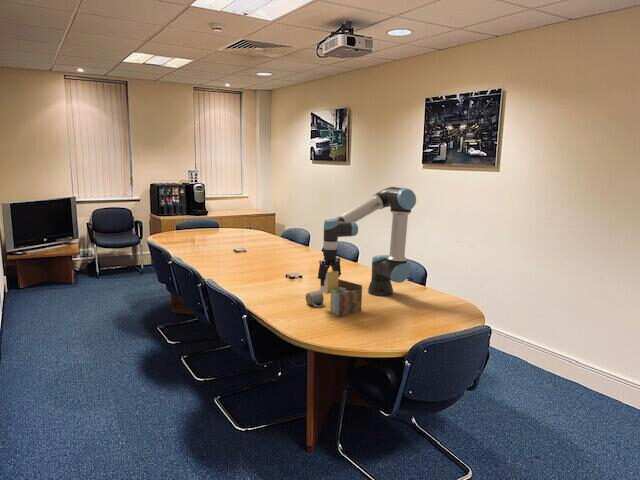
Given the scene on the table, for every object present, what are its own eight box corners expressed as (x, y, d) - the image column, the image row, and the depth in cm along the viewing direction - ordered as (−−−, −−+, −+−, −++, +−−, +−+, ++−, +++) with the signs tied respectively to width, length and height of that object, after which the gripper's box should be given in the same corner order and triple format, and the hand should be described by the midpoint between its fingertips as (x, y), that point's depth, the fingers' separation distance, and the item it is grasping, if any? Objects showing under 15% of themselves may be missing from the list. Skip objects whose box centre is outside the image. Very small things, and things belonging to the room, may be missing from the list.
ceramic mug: (304, 303, 265) (304, 290, 264) (317, 301, 269) (317, 288, 268) (313, 309, 256) (314, 295, 255) (326, 307, 260) (327, 293, 259)
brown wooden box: (334, 302, 269) (335, 278, 266) (361, 310, 255) (362, 285, 252) (313, 308, 257) (313, 283, 255) (340, 317, 243) (341, 291, 241)
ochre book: (330, 289, 260) (331, 269, 258) (338, 291, 256) (338, 271, 254) (320, 291, 254) (320, 271, 252) (327, 293, 250) (327, 273, 248)
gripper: (338, 245, 261) (337, 285, 265) (311, 249, 246) (310, 292, 250) (348, 247, 255) (347, 288, 259) (321, 252, 241) (320, 295, 245)
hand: (329, 289), depth 255 cm, fingers closed on ochre book, 8 cm apart
